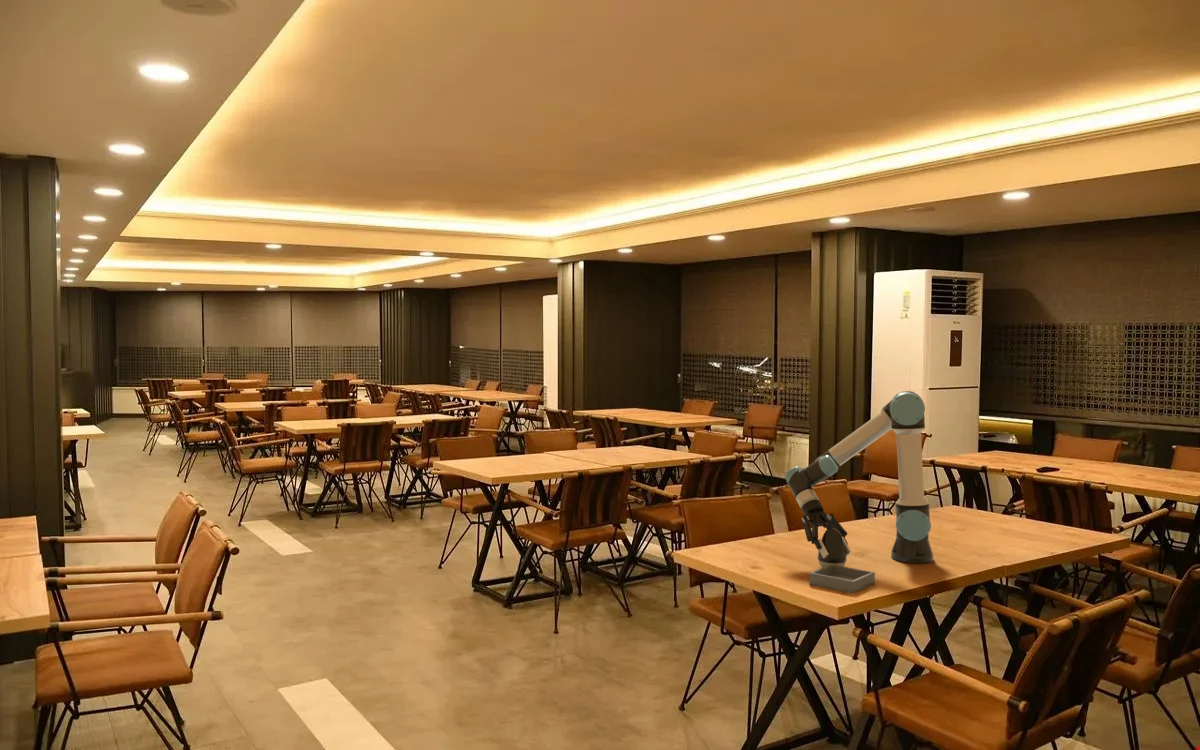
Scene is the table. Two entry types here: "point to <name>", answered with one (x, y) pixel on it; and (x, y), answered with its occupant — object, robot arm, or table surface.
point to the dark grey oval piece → (833, 549)
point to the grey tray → (842, 578)
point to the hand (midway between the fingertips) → (837, 555)
